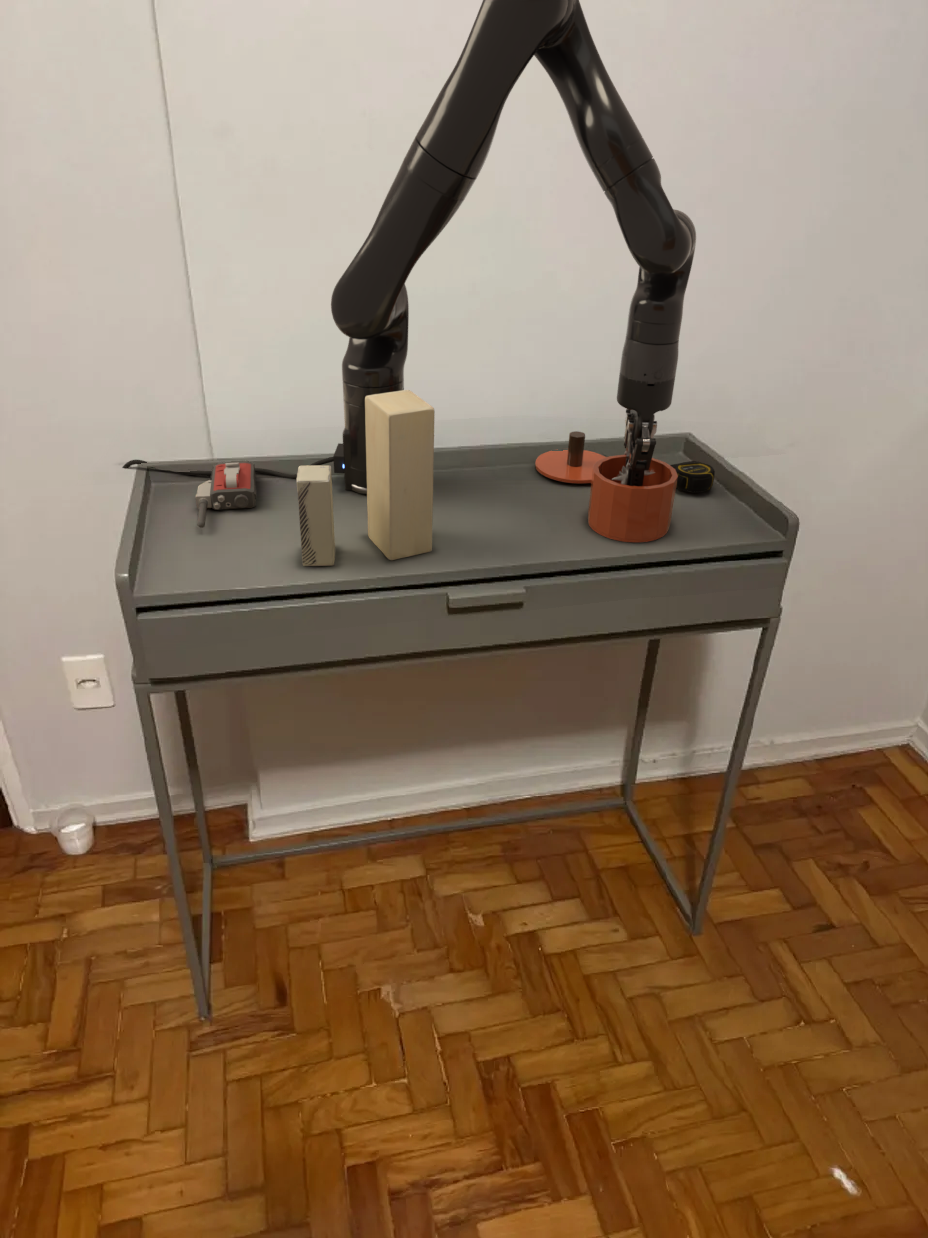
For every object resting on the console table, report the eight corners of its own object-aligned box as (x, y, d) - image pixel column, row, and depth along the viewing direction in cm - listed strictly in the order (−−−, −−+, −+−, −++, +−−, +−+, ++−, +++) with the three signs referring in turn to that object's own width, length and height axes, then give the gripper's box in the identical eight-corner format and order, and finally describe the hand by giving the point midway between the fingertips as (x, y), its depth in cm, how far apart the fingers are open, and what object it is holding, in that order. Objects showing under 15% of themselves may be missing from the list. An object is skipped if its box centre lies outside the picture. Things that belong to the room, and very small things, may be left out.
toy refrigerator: (438, 550, 131) (439, 406, 119) (390, 561, 128) (387, 415, 116) (413, 527, 136) (413, 387, 125) (367, 537, 134) (362, 395, 122)
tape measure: (695, 477, 154) (698, 456, 152) (720, 493, 149) (724, 471, 147) (660, 483, 152) (663, 461, 150) (685, 500, 146) (688, 478, 144)
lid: (536, 485, 150) (538, 448, 146) (533, 453, 161) (536, 418, 157) (617, 488, 150) (621, 450, 146) (609, 456, 161) (613, 421, 157)
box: (304, 549, 130) (297, 463, 123) (336, 548, 130) (331, 463, 123) (302, 568, 126) (295, 480, 119) (335, 567, 126) (329, 480, 119)
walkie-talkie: (201, 477, 149) (194, 535, 133) (197, 451, 147) (189, 507, 130) (257, 474, 151) (256, 531, 134) (254, 449, 148) (253, 503, 132)
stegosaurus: (657, 487, 136) (662, 458, 134) (614, 493, 134) (617, 463, 132) (649, 481, 138) (653, 451, 136) (606, 486, 136) (610, 456, 134)
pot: (591, 541, 134) (597, 486, 130) (585, 504, 144) (590, 453, 140) (674, 544, 134) (683, 489, 129) (662, 507, 144) (670, 456, 139)
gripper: (615, 354, 132) (602, 466, 142) (626, 386, 121) (611, 507, 130) (667, 355, 132) (651, 468, 142) (683, 388, 121) (665, 509, 130)
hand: (632, 486), depth 136 cm, fingers closed
